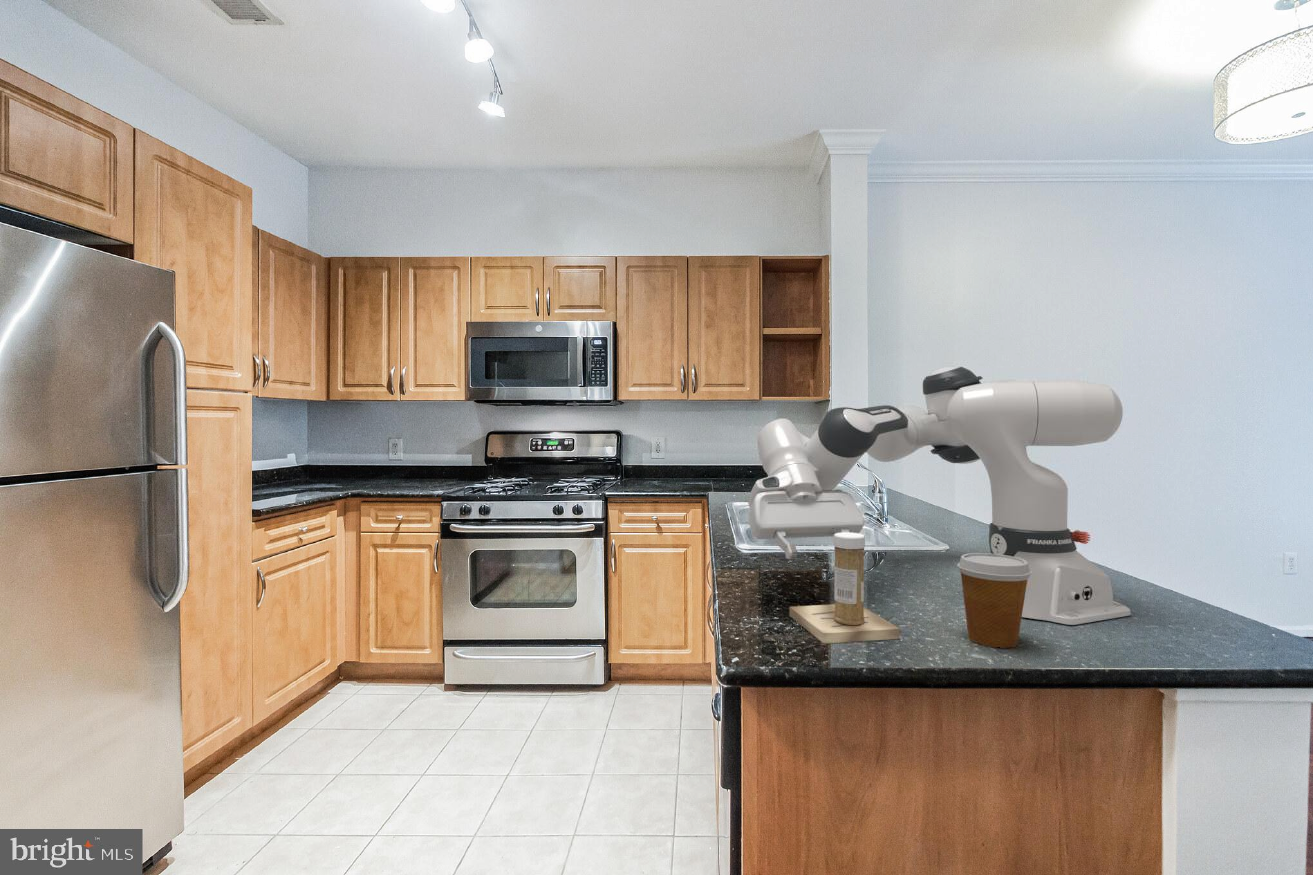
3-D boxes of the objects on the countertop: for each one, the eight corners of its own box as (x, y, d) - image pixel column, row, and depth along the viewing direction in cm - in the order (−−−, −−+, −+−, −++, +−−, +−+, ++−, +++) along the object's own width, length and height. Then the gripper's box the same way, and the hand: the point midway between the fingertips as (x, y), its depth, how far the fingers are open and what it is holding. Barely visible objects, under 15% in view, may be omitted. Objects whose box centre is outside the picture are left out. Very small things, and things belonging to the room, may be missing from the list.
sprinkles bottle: (870, 622, 94) (871, 534, 93) (851, 628, 91) (852, 537, 91) (846, 614, 97) (846, 530, 97) (826, 619, 95) (827, 533, 94)
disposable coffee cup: (945, 629, 95) (946, 552, 95) (1009, 630, 95) (1010, 552, 94) (974, 651, 86) (975, 566, 85) (1044, 653, 85) (1046, 567, 85)
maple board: (856, 611, 104) (856, 602, 104) (899, 638, 91) (899, 628, 91) (789, 615, 102) (789, 606, 102) (823, 643, 89) (823, 633, 89)
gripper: (842, 500, 117) (868, 562, 108) (739, 502, 113) (757, 568, 104) (854, 479, 112) (882, 542, 103) (747, 481, 109) (766, 547, 100)
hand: (818, 555), depth 104 cm, fingers open, 8 cm apart
